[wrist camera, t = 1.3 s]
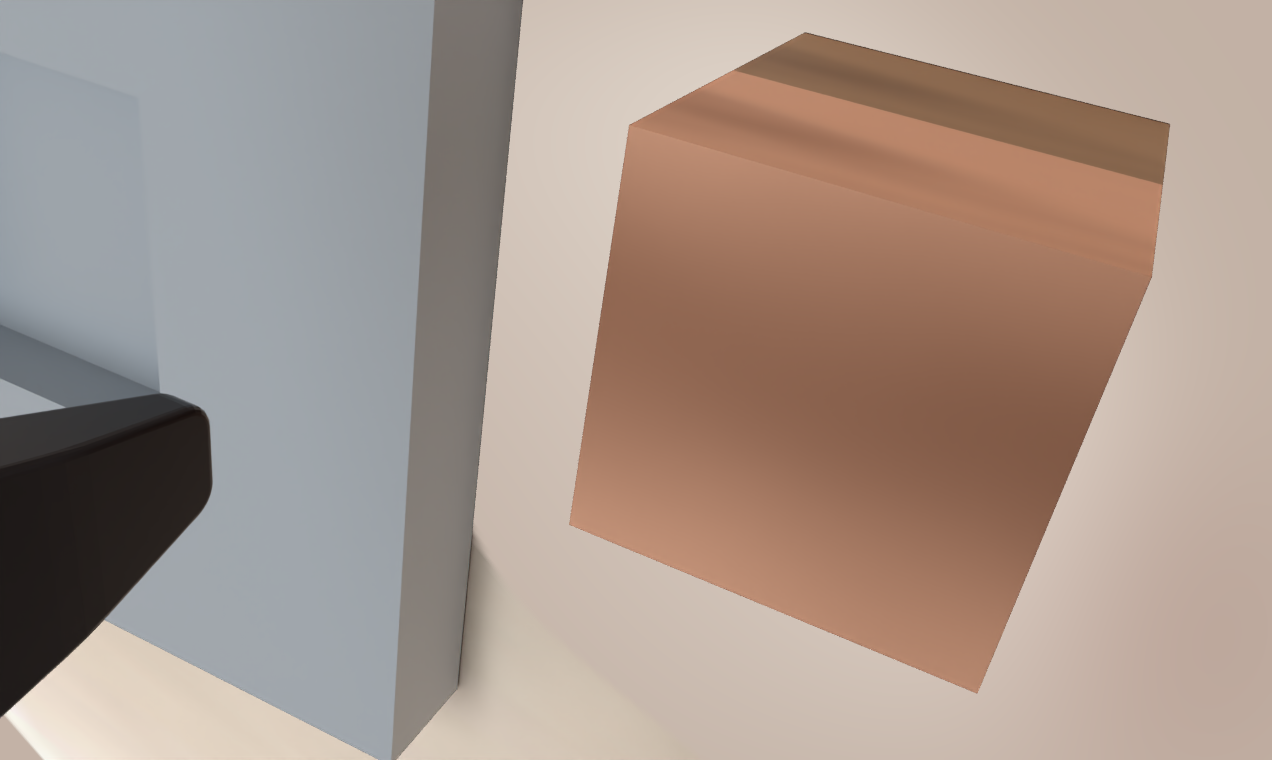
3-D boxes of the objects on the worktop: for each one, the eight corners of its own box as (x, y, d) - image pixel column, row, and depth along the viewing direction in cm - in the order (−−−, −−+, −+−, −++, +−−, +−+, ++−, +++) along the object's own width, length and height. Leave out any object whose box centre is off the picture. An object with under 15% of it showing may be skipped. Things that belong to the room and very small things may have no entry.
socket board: (457, 688, 25) (390, 766, 23) (-115, 416, 30) (-210, 459, 28) (543, -219, 16) (447, -225, 14) (-292, -383, 21) (-450, -404, 19)
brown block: (1043, 443, 17) (977, 692, 12) (737, 338, 19) (569, 524, 14) (1170, 123, 15) (1152, 277, 10) (805, 32, 16) (628, 125, 11)
